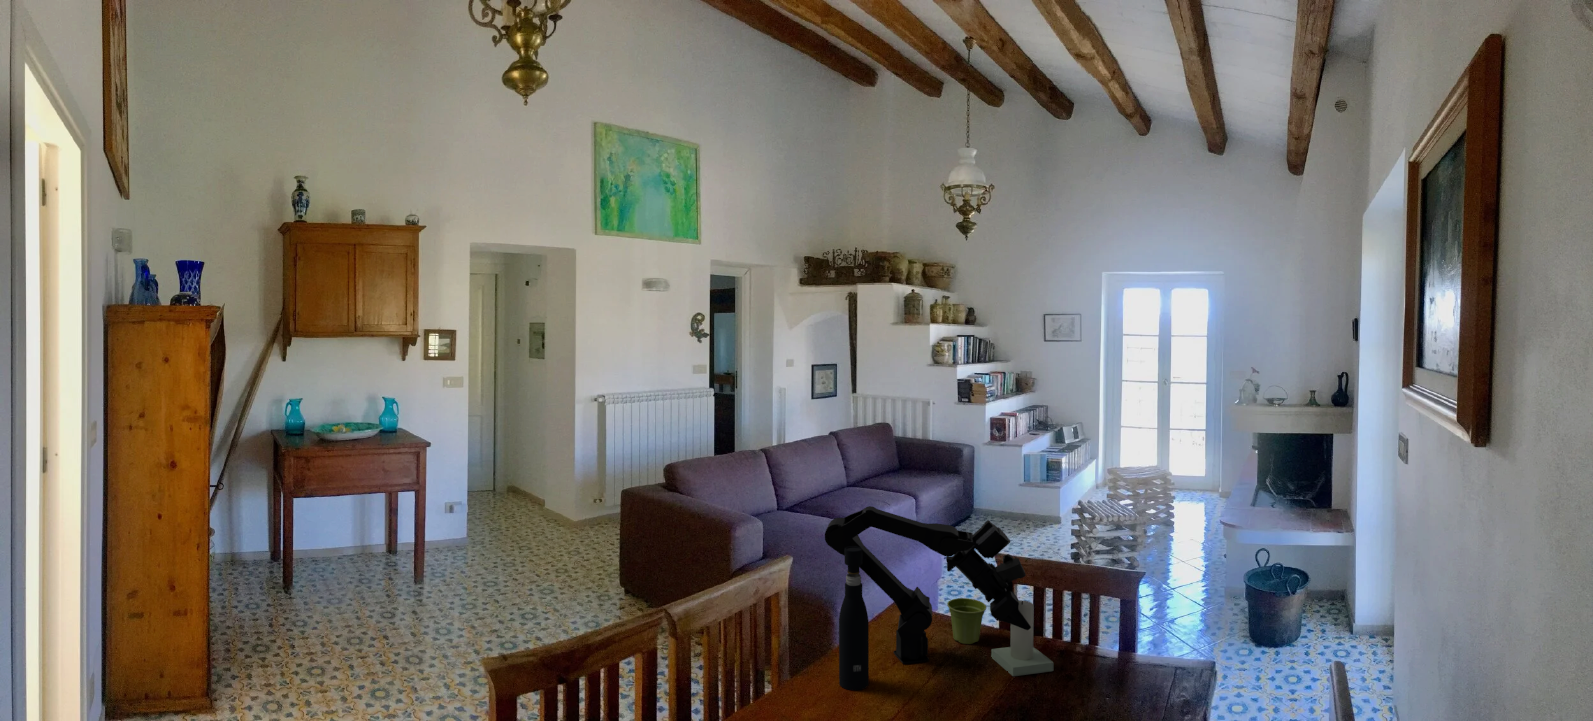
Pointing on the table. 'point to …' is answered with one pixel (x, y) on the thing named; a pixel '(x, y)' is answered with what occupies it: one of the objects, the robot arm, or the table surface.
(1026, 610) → the candle
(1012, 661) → the stand
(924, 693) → the table surface
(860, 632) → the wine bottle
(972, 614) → the plant pot
